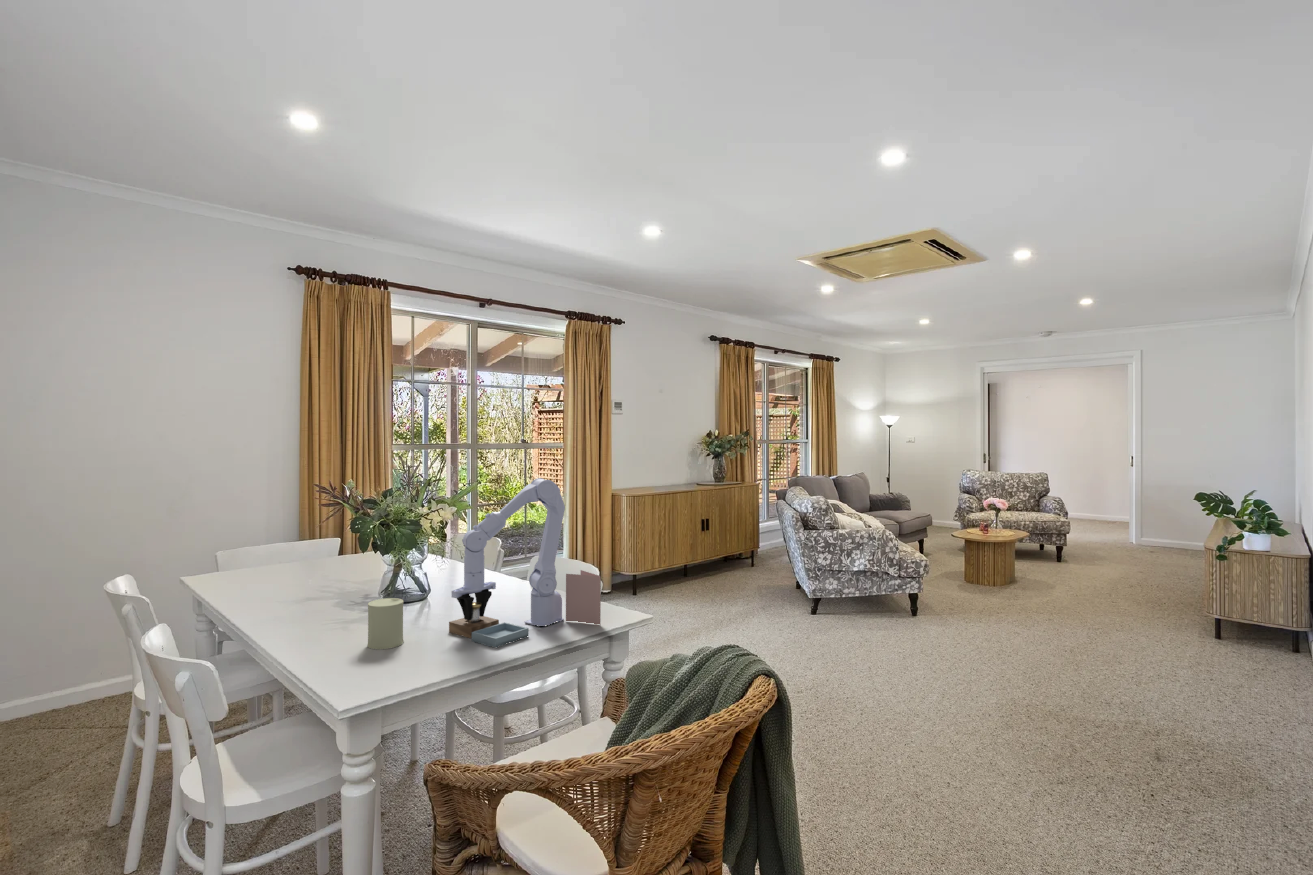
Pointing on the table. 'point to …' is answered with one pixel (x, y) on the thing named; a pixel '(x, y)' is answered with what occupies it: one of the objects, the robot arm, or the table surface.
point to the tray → (499, 634)
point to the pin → (475, 613)
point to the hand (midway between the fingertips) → (474, 617)
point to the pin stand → (470, 626)
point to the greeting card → (583, 597)
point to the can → (385, 623)
